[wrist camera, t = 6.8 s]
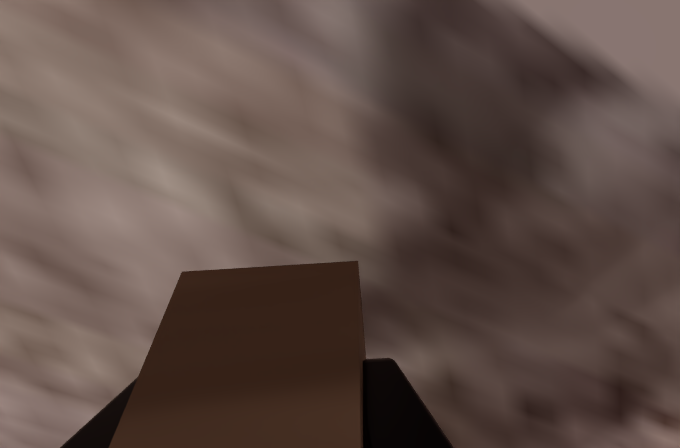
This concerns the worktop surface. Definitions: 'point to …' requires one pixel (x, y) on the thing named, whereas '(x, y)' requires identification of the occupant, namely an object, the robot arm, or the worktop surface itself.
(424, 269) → the worktop surface
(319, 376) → the walnut turner
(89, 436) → the robot arm
